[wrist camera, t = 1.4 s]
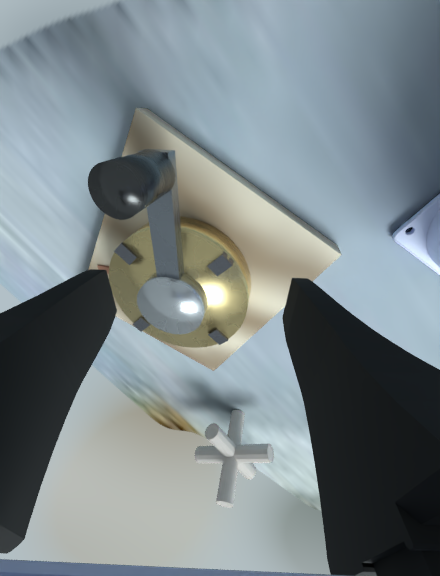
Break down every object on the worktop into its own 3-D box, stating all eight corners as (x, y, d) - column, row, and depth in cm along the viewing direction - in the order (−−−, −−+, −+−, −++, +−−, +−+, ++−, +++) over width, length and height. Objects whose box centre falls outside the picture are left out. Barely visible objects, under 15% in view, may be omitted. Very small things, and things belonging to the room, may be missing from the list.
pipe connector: (286, 430, 34) (287, 526, 26) (224, 434, 39) (209, 518, 31) (255, 386, 30) (245, 485, 22) (189, 396, 34) (161, 482, 26)
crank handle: (245, 336, 23) (232, 413, 17) (137, 318, 25) (91, 383, 19) (267, 147, 14) (256, 170, 8) (95, 139, 16) (-17, 154, 10)
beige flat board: (146, 108, 16) (134, 107, 15) (337, 245, 18) (342, 256, 17) (89, 288, 26) (79, 297, 25) (216, 360, 29) (213, 372, 27)
